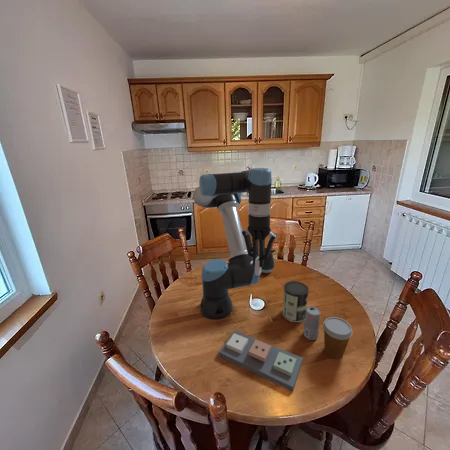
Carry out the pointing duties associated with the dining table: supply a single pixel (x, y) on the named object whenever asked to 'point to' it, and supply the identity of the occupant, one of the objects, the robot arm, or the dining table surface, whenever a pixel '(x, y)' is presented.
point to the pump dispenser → (268, 263)
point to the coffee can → (295, 301)
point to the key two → (260, 350)
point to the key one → (237, 343)
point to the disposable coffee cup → (336, 336)
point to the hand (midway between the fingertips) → (258, 273)
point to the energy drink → (312, 323)
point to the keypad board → (262, 363)
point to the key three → (284, 363)
